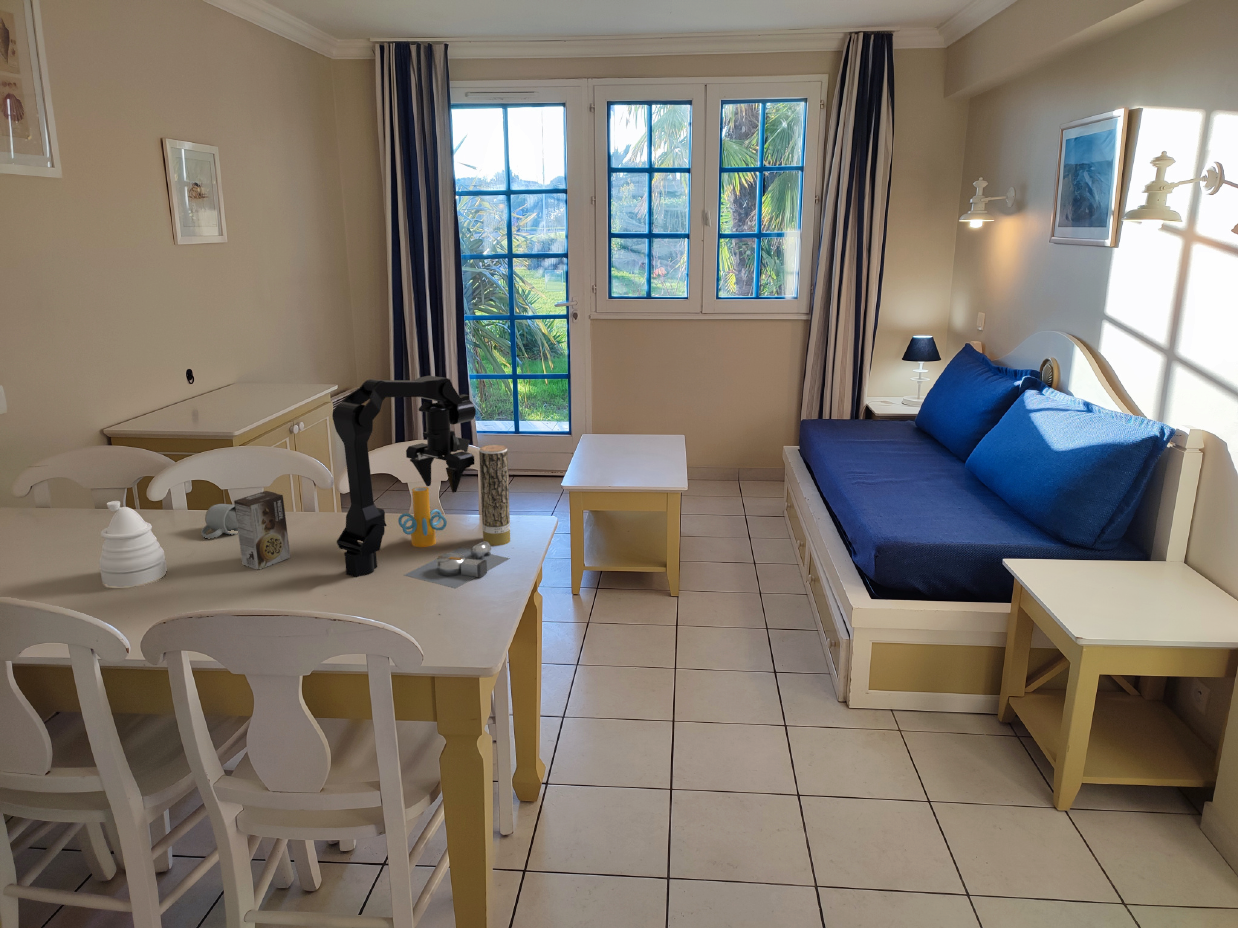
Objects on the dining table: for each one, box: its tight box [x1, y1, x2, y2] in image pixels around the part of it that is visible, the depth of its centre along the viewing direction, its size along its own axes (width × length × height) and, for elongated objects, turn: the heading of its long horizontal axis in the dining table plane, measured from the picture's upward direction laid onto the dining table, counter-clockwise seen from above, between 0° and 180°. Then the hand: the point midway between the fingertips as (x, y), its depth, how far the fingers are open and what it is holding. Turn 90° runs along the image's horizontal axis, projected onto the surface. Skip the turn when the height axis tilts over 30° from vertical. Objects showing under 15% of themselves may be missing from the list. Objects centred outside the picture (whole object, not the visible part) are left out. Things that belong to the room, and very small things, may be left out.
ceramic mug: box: [200, 503, 238, 539], centre depth 219 cm, size 11×8×8 cm
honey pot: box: [98, 500, 168, 587], centre depth 190 cm, size 13×13×18 cm
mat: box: [404, 547, 511, 589], centre depth 196 cm, size 20×15×1 cm
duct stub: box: [470, 541, 492, 560], centre depth 202 cm, size 4×3×3 cm
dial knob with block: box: [435, 552, 488, 578], centre depth 192 cm, size 12×6×3 cm, turn 71°
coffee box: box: [233, 490, 291, 570], centre depth 199 cm, size 9×6×16 cm
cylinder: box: [397, 486, 448, 548], centre depth 209 cm, size 12×10×15 cm
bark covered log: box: [478, 444, 511, 547], centre depth 209 cm, size 7×7×25 cm
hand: (441, 489), depth 210 cm, fingers open, 9 cm apart
